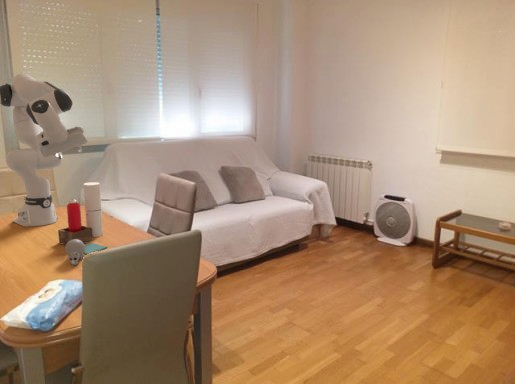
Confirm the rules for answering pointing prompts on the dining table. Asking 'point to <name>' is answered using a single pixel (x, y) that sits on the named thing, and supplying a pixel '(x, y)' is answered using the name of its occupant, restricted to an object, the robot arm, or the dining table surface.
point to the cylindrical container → (93, 208)
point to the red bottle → (74, 216)
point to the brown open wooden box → (75, 235)
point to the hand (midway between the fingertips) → (70, 154)
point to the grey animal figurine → (75, 251)
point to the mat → (93, 248)
